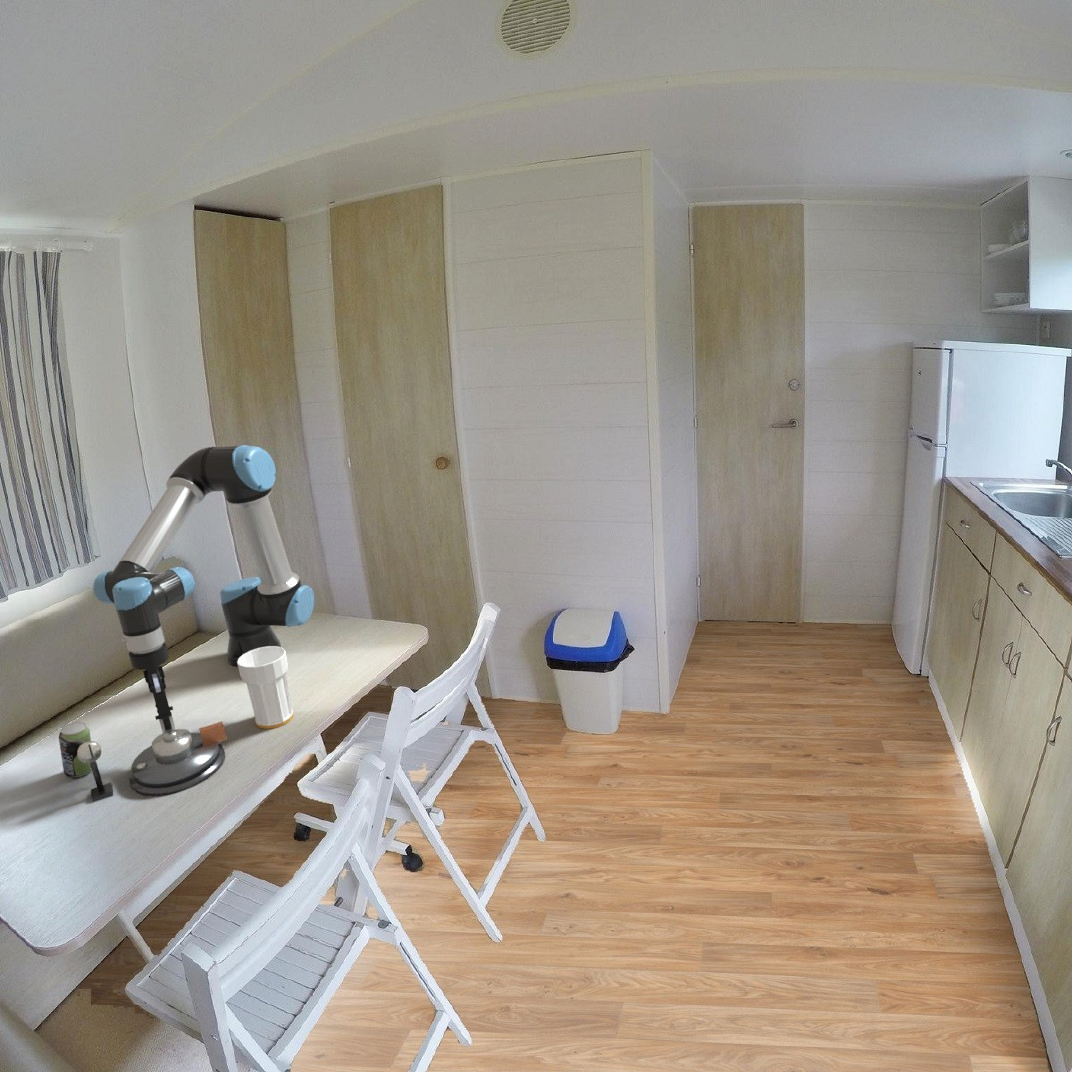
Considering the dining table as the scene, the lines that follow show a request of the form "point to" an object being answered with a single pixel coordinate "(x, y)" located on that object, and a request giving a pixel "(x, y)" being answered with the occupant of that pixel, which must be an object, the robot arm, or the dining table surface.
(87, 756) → the dial stand
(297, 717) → the dining table surface
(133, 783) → the turntable base
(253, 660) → the cup
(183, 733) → the cover
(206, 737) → the turntable
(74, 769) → the beverage can
